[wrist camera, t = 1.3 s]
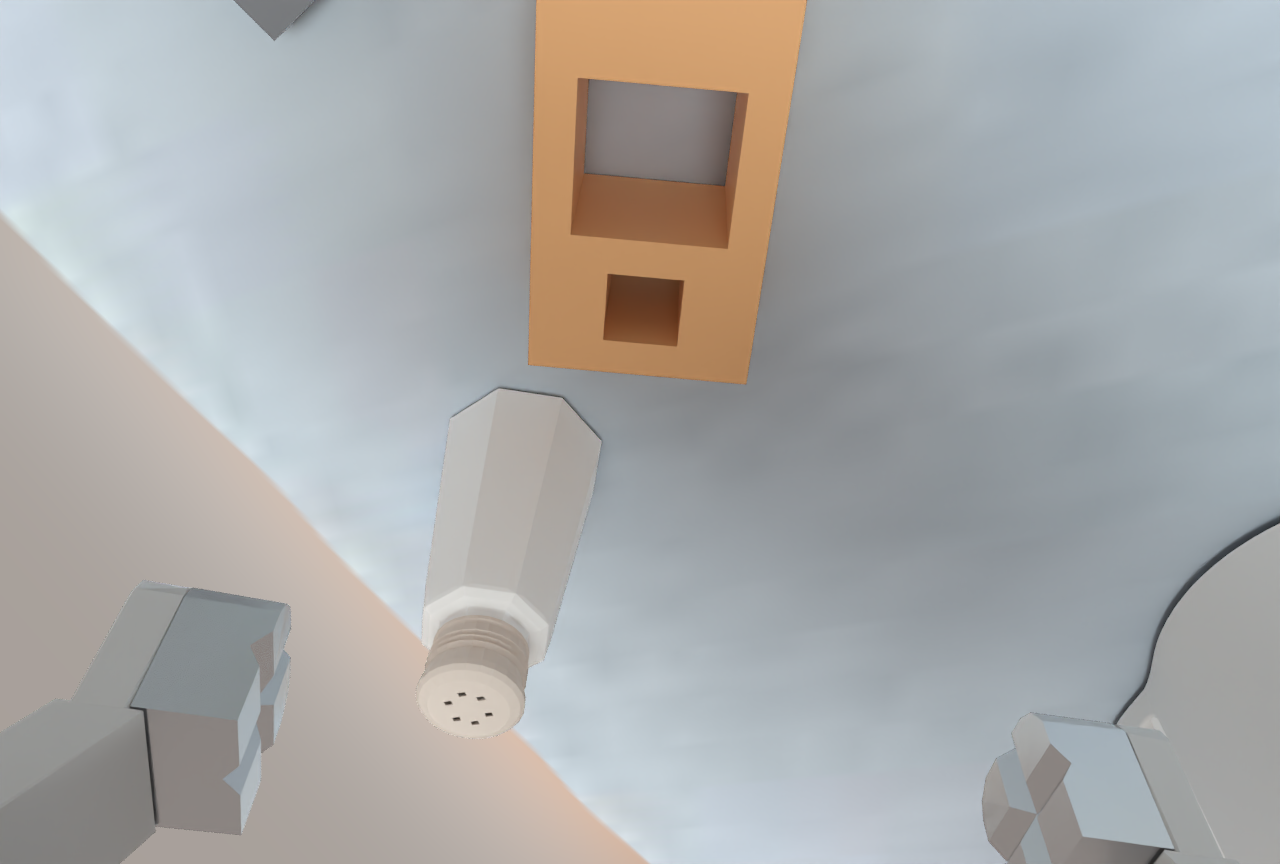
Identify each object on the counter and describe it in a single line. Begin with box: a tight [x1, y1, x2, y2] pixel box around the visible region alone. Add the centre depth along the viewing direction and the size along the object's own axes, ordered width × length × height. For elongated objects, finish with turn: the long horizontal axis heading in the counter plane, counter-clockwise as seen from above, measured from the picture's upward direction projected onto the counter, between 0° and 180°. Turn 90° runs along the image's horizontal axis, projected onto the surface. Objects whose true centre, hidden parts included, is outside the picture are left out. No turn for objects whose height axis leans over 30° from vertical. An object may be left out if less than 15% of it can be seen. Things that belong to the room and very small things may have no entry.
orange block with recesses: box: [528, 0, 807, 384], centre depth 29 cm, size 12×6×4 cm, turn 176°
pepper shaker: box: [416, 388, 602, 739], centre depth 33 cm, size 5×5×11 cm
